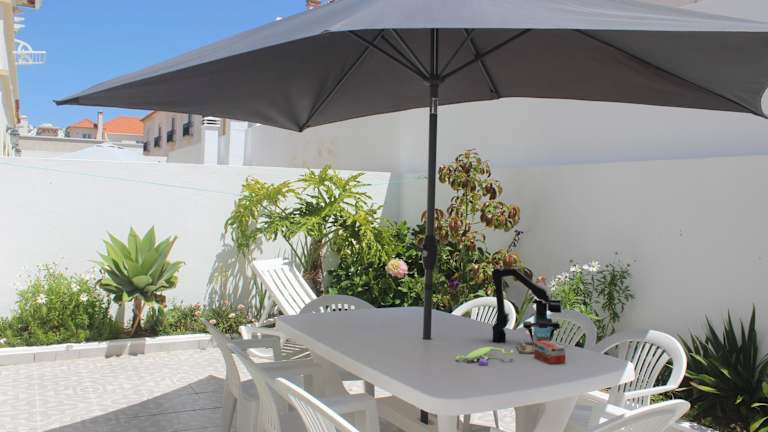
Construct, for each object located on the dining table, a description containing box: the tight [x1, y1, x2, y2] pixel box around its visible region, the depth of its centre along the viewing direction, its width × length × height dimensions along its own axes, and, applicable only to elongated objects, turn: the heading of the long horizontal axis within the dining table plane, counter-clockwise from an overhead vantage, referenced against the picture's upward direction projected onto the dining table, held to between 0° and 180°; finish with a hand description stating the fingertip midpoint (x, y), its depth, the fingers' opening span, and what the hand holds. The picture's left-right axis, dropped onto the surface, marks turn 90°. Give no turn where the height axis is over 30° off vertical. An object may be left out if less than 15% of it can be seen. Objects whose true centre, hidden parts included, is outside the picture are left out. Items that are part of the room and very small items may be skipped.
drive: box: [532, 332, 549, 344], centre depth 353 cm, size 6×10×5 cm, turn 1°
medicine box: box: [533, 341, 566, 365], centre depth 317 cm, size 15×8×8 cm, turn 18°
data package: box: [533, 313, 553, 337], centre depth 374 cm, size 12×4×12 cm, turn 19°
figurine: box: [454, 346, 515, 366], centre depth 316 cm, size 18×27×6 cm
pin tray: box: [515, 340, 534, 355], centre depth 337 cm, size 16×16×4 cm
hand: (541, 341), depth 353 cm, fingers open, 9 cm apart
